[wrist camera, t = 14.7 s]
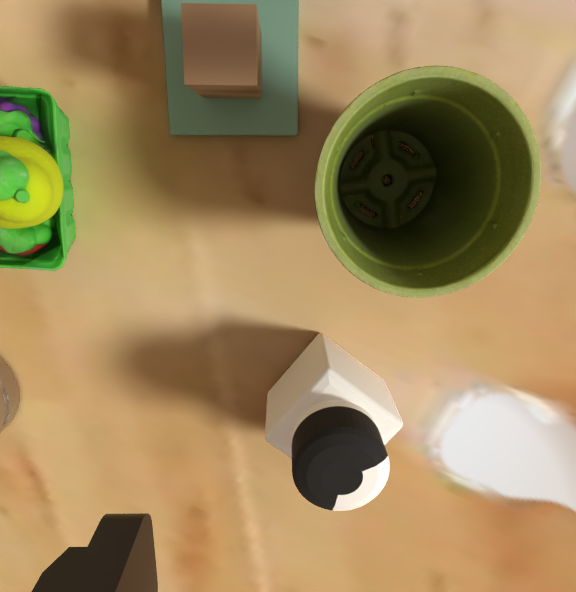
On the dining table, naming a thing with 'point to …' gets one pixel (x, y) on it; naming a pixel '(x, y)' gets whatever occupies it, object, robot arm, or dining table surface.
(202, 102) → the coaster
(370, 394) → the medicine bottle
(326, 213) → the plant pot
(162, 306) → the dining table surface
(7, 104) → the fruit basket
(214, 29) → the walnut box
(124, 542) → the robot arm
